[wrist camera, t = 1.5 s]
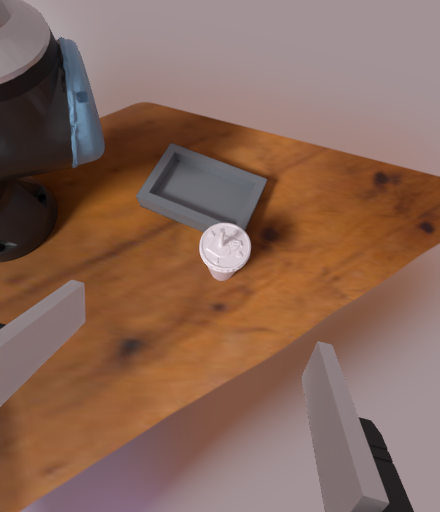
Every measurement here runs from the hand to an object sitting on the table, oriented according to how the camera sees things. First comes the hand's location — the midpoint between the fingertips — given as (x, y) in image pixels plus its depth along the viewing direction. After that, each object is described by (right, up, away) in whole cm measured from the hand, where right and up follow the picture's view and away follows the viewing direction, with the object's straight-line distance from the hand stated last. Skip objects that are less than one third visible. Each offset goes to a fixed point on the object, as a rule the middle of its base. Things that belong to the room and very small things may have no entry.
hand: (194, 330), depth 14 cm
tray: (-1, +14, +30) cm, 34 cm away
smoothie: (+2, +2, +26) cm, 26 cm away
